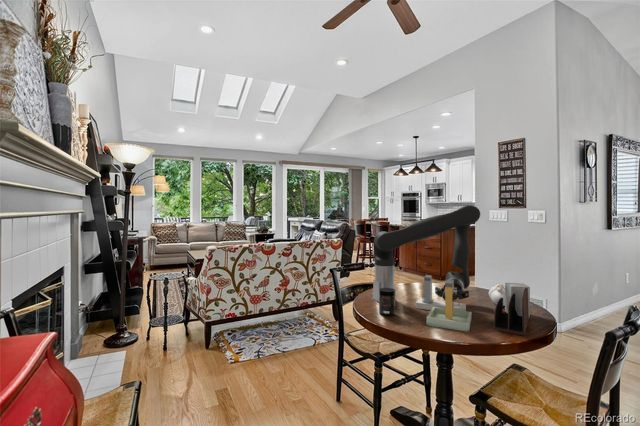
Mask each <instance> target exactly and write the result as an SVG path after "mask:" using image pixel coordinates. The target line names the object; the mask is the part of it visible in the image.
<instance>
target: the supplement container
mask: <svg viewBox="0 0 640 426" xmlns="http://www.w3.org/2000/svg"><path fill="white" fill-rule="evenodd" d="M378 312H379V314H380V315H381V316H384V317H393V316H394V315H395V314H396V289H395V288H394V289H392V288H380V289H379V302H378Z"/></svg>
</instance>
